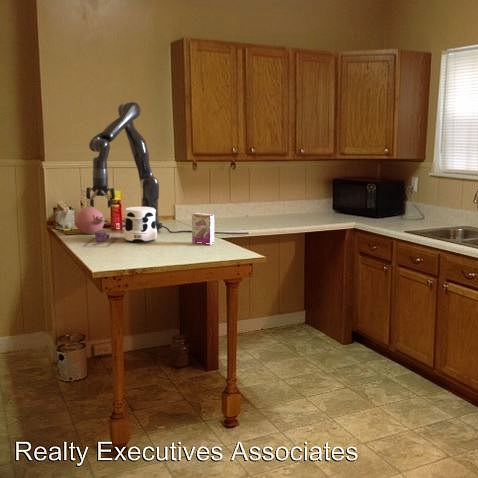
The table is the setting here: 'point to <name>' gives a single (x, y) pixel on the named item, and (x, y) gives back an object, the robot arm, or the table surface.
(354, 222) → the table surface
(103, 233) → the purple stepped cylinder
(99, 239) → the dish bottom
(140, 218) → the white black spotted canister
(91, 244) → the brown board with circles
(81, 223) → the pink piggy bank
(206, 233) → the candy bar box
